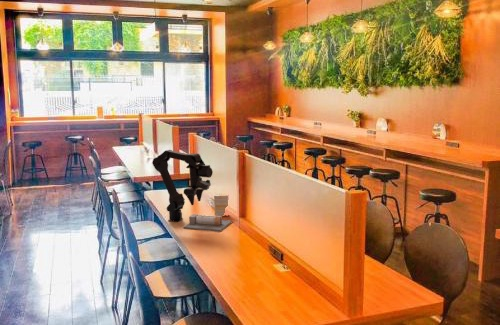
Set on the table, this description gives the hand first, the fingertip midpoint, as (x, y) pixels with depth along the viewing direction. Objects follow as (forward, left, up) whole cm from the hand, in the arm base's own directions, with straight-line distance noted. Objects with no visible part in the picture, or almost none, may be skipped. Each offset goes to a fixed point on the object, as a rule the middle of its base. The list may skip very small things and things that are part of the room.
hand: (196, 203), depth 281 cm
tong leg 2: (+9, 0, -11) cm, 14 cm away
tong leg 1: (+8, -3, -11) cm, 14 cm away
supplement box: (+8, +19, -12) cm, 24 cm away
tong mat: (+8, -2, -12) cm, 14 cm away
